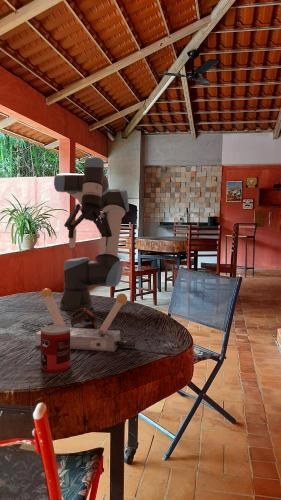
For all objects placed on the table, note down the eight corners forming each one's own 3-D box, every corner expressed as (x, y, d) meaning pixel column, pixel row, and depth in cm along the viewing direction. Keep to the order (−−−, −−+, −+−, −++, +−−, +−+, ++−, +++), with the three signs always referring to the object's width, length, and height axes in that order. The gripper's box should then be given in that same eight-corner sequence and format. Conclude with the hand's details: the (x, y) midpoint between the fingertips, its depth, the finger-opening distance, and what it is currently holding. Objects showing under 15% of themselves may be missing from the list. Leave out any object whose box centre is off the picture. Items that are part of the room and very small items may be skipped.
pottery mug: (96, 331, 140) (85, 314, 138) (75, 341, 142) (64, 323, 140) (102, 316, 152) (92, 299, 149) (82, 324, 154) (71, 308, 151)
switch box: (47, 337, 131) (47, 326, 131) (137, 343, 126) (138, 332, 125) (35, 346, 121) (35, 334, 121) (132, 353, 116) (132, 340, 116)
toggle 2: (98, 327, 125) (121, 290, 123) (107, 333, 125) (130, 296, 123) (94, 331, 121) (118, 292, 119) (104, 337, 120) (127, 298, 118)
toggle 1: (60, 330, 127) (42, 289, 127) (69, 326, 127) (51, 285, 127) (55, 334, 123) (36, 292, 123) (64, 330, 122) (46, 287, 122)
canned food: (43, 362, 108) (43, 324, 107) (71, 361, 109) (71, 324, 108) (38, 373, 101) (38, 332, 100) (68, 372, 101) (68, 332, 100)
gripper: (69, 184, 133) (63, 242, 129) (122, 203, 150) (119, 255, 145) (58, 189, 139) (52, 245, 134) (111, 206, 155) (107, 257, 151)
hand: (87, 250), depth 140 cm, fingers open, 13 cm apart
